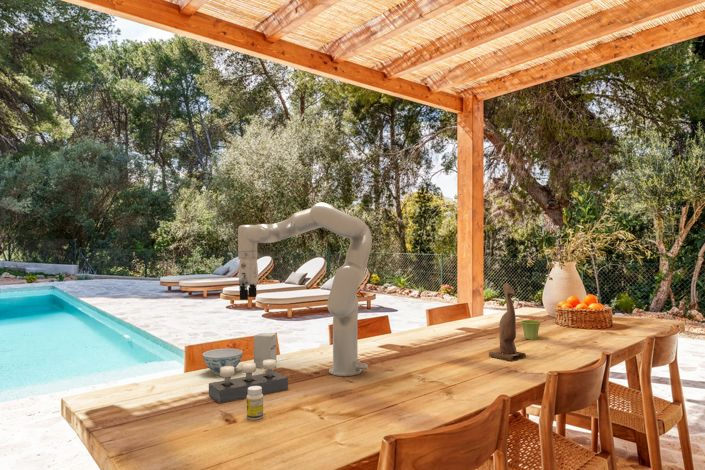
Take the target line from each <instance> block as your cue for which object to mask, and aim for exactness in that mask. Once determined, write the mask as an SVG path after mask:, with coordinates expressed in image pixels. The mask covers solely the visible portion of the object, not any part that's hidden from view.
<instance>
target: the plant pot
mask: <svg viewBox="0 0 705 470" xmlns="http://www.w3.org/2000/svg"><path fill="white" fill-rule="evenodd" d="M520 323H521V325H522V329H523V334H524V335H523V337H524V339H525V340H527V339H528V340H530V341H531V340H532V341H533V340H534V341H535V340H538V335H539V329H540V326H541V321H538V320H533V319H528V320H527V319H525V320H524V319H523V320H521V321H520Z"/></svg>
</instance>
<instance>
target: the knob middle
mask: <svg viewBox="0 0 705 470" xmlns="http://www.w3.org/2000/svg"><path fill="white" fill-rule="evenodd" d="M241 367H242V368H241V370H242V371H241V373H243V374H245V377H246V382H251V381H252V375H253V373H255V372H257V369H256V368H257V367H256V364H255V363H254V362H245V363H242V364H241Z"/></svg>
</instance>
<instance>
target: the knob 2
mask: <svg viewBox="0 0 705 470" xmlns="http://www.w3.org/2000/svg"><path fill="white" fill-rule="evenodd" d="M276 368H277V359H276V360H273V359H268V360H264V361H263V367H262V369H263V370H266V371H265V373H266V374H267V378H272V372H273V370H274V369H276Z"/></svg>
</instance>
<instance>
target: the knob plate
mask: <svg viewBox="0 0 705 470" xmlns="http://www.w3.org/2000/svg"><path fill="white" fill-rule="evenodd" d="M251 386H260V387H262V394H263V395H268V394H272V393H277V392H282V391H287V390H289V377H287V376H286V375H283V374H281V373H279V372H277V371H275V370H274V371H272V378H267V374H266V372H264V373H258V374H254V375H253V374H252V381H251V382H246V376H243V377H237V378H231V385H229V386H224V380H219V381H215V382H214V381H213V382H210V383H208V396H209V397H210V398H211V399H213V400H214V401H215V402H217V403H218V404H224V403H228V402H232V401H239V400H243V399H247V395H248V388H249V387H251Z"/></svg>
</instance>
